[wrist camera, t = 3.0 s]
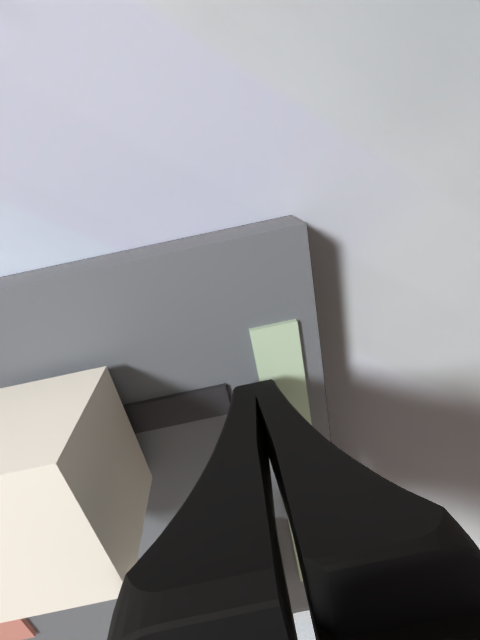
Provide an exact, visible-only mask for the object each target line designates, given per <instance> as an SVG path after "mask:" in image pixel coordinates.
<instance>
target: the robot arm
mask: <svg viewBox="0 0 480 640" xmlns="http://www.w3.org/2000/svg"><path fill="white" fill-rule="evenodd" d="M269 459H270V462H271V465H272V469H273V472H274V475H275V478H276V481H277V485H278V488H279V491H280V494H281V497H282V501H283V504H284V507H285V510H286V513H287V516H288V520H289V523H290V527H291V531H292V534H293V538H294V543H295V547H296V552H297V556H298V561H299V565H300V570H301V574H302V579H303V583H304V588H305V592H306V597H307V601H308V606H309V610H310V615H311V619H312V624H313V628H314V633H315V637H316V640H480V550H479V548H478V547H477V545H476V544H475V543H474V541H473V540H472V539H471V538H470V536H469V535H468V534H467V533H466V532H465V531H464V529H463V528H462V527H461V526H460V525H459V524H458V523H457V521H456V520H455V519H454V518H453V517H452V516H451V515H450V514H449V512H448V511H447V510H446V509H445V508H444V507H442V506H440V505H438V504H435V503H433V502H431V501H429V500H427V499H425V498H422V497H420V496H418V495H416V494H414V493H412V492H410V491H407V490H405V489H403V488H401V487H399V486H397V485H396V484H394V483H392V482H390V481H388V480H386V479H385V478H383V477H381V476H380V475H378V474H377V473H375V472H373V471H372V470H370V469H369V468H367V467H365V466H364V465H362V464H361V463H359V462H357V461H356V460H354V459H353V458H351V457H350V456H349V455H347V454H346V453H345V452H343V451H342V450H340V449H339V448H338V447H337V446H335V445H334V444H333V443H331V442H330V441H329V440H328V439H326V438H325V437H324V436H323V435H322V434H321V433H320V432H318V431H317V430H316V429H315V428H314V427H313V426H312V425H311V424H310V423H309V422H308V421H307V420H306V419H305V418H304V417H303V416H302V415H301V414H300V413H299V412H298V411H297V410H296V409H295V408H294V407H293V406H292V404H291V403H290V402H289V401H288V400H287V398H286V397H285V396H284V395H283V393H282V392H281V391H280V389H279V388H278V386H277V385H276V383H275V381H273V380H272V379H269V380H265V381H260V382H255V383H250V384H246V385H241V386H236V387H235V388H234V389H233V393H232V399H231V403H230V407H229V411H228V414H227V417H226V420H225V423H224V426H223V429H222V431H221V434H220V436H219V439H218V441H217V443H216V446H215V448H214V450H213V453H212V455H211V457H210V459H209V461H208V463H207V465H206V467H205V469H204V470H203V472H202V474H201V476H200V478H199V479H198V481H197V483H196V484H195V486H194V488H193V489H192V491H191V492H190V494H189V496H188V497H187V499H186V500H185V502H184V503H183V505H182V506H181V508H180V509H179V510H178V512H177V513H176V514H175V516H174V517H173V518H172V520H171V521H170V522H169V524H168V525H167V526H166V528H165V529H164V530H163V532H162V533H161V534H160V536H159V537H158V538H157V539H156V541H155V542H154V543H153V544H152V545H151V546H150V548H149V549H148V550H147V551H146V552H145V553H144V554H143V556H142V557H141V558H140V559H139V560H138V561H137V562H136V564H135V565H134V566H133V567H132V568H131V569H130V570H129V571H128V572H127V573H126V574H125V577H124V580H123V583H122V586H121V589H120V592H119V595H118V598H117V601H116V605H115V608H114V611H113V615H112V619H111V623H110V628H109V632H108V637H107V640H298V639H297V634H296V629H295V624H294V619H293V613H292V608H291V603H290V598H289V593H288V587H287V582H286V577H285V572H284V567H283V561H282V556H281V551H280V546H279V540H278V534H277V527H276V519H275V509H274V500H273V490H272V481H271V471H270V462H269Z"/></svg>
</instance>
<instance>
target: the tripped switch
mask: <svg viewBox="0 0 480 640" xmlns="http://www.w3.org/2000/svg"><path fill="white" fill-rule="evenodd" d="M151 483H152V474H151V472H150V469H149V467H148V465H147V462H146V460H145V457H144V455H143V453H142V450H141V448H140V445H139V443H138V441H137V438H136V436H135V433H134V431H133V429H132V426H131V424H130V421H129V419H128V417H127V414H126V412H125V409H124V407H123V405H122V402H121V400H120V397H119V395H118V393H117V390H116V388H115V385H114V383H113V381H112V378H111V376H110V373H109V371H108V369H107V366H104V367H99V368H95V369H90V370H85V371H80V372H76V373H71V374H66V375H62V376H57V377H52V378H47V379H43V380H38V381H33V382H29V383H24V384H19V385H14V386H10V387H5V388H0V623H3V622H8V621H13V620H18V619H23V618H27V617H32V616H37V615H42V614H46V613H51V612H56V611H61V610H66V609H70V608H75V607H80V606H85V605H90V604H94V603H99V602H104V601H109V600H114V599H117V598H118V595H119V592H120V589H121V586H122V583H123V580H124V577H125V574H126V573H127V572H128V571H129V570H130V569H131V568H132V567H133V566H134V565H135V564H136V562H137V559H138V553H139V548H140V542H141V537H142V531H143V526H144V521H145V515H146V510H147V504H148V499H149V493H150V488H151Z"/></svg>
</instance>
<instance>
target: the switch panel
mask: <svg viewBox="0 0 480 640" xmlns="http://www.w3.org/2000/svg"><path fill="white" fill-rule="evenodd" d="M104 366H107V369H108V371H109V373H110V376H111V378H112V381H113V383H114V385H115V388H116V390H117V393H118V395H119V397H120V400H121V402H122V405H123V407H124V409H125V412H126V414H127V417H128V419H129V421H130V424H131V426H132V429H133V431H134V433H135V436H136V438H137V441H138V443H139V445H140V448H141V450H142V453H143V455H144V457H145V460H146V462H147V465H148V467H149V469H150V472H151V474H152V483H151V488H150V493H149V499H148V504H147V510H146V515H145V521H144V526H143V531H142V537H141V542H140V548H139V553H138V559H137V561H138V560H139V559H140V558H141V557H142V556H143V554H144V553H145V552H146V551H147V550H148V549H149V548H150V546H151V545H152V544H153V543H154V542H155V541H156V539H157V538H158V537H159V536H160V534H161V533H162V532H163V530H164V529H165V528H166V526H167V525H168V524H169V522H170V521H171V520H172V518H173V517H174V516H175V514H176V513H177V512H178V510H179V509H180V508H181V506H182V505H183V503H184V502H185V500H186V499H187V497H188V496H189V494H190V492H191V491H192V489H193V488H194V486H195V484H196V483H197V481H198V479H199V478H200V476H201V474H202V472H203V470H204V469H205V467H206V465H207V463H208V461H209V459H210V457H211V455H212V453H213V450H214V448H215V446H216V443H217V441H218V439H219V436H220V434H221V431H222V429H223V426H224V423H225V420H226V417H227V414H228V411H229V407H230V403H231V399H232V393H233V389H234V388H235V387H236V386H241V385H246V384H250V383H255V382H260V381H265V380H269V379H272V380H273V381H275V383H276V385H277V386H278V388H279V389H280V391H281V392H282V393H283V395H284V396H285V397H286V398H287V400H288V401H289V402H290V403H291V404H292V406H293V407H294V408H295V409H296V410H297V411H298V412H299V413H300V414H301V415H302V416H303V417H304V418H305V419H306V420H307V421H308V422H309V423H310V424H311V425H312V426H313V427H314V428H315V429H316V430H317V431H318V432H320V433H321V434H322V435H323V436H324V437H325V438H326V439H328V440H329V441H330V442H331V437H330V428H329V420H328V411H327V402H326V393H325V384H324V375H323V366H322V357H321V348H320V340H319V331H318V322H317V313H316V304H315V295H314V286H313V277H312V268H311V260H310V251H309V242H308V233H307V224H306V223H305V222H303V221H301V220H300V219H298V218H296V217H295V216H293V215H289V216H284V217H280V218H275V219H270V220H266V221H261V222H256V223H252V224H247V225H242V226H238V227H233V228H228V229H224V230H219V231H214V232H210V233H205V234H200V235H196V236H191V237H186V238H181V239H177V240H172V241H167V242H163V243H158V244H153V245H149V246H144V247H139V248H135V249H130V250H125V251H121V252H116V253H111V254H107V255H102V256H97V257H93V258H88V259H83V260H79V261H74V262H69V263H65V264H60V265H55V266H50V267H46V268H41V269H36V270H32V271H27V272H22V273H18V274H13V275H8V276H4V277H0V388H5V387H10V386H14V385H19V384H24V383H29V382H33V381H38V380H43V379H47V378H52V377H57V376H62V375H66V374H71V373H76V372H80V371H85V370H90V369H95V368H99V367H104ZM269 462H270V459H269ZM270 471H271V481H272V490H273V500H274V509H275V519H276V527H277V534H278V540H279V546H280V551H281V556H282V561H283V567H284V572H285V577H286V582H287V587H288V593H289V598H290V603H291V608H292V613H297V612H302V611H306V610H309V606H308V601H307V597H306V592H305V588H304V583H303V579H302V574H301V570H300V565H299V561H298V556H297V552H296V547H295V543H294V538H293V534H292V531H291V527H290V523H289V520H288V516H287V513H286V510H285V507H284V504H283V501H282V497H281V494H280V491H279V488H278V485H277V481H276V478H275V475H274V472H273V469H272V465H271V462H270ZM116 601H117V599H114V600H109V601H104V602H99V603H94V604H90V605H85V606H80V607H75V608H70V609H66V610H61V611H56V612H51V613H46V614H42V615H37V616H32V617H27V618H23V619H18V620H13V621H8V622H3V623H0V640H107V637H108V632H109V628H110V623H111V619H112V615H113V611H114V608H115V605H116Z"/></svg>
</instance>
